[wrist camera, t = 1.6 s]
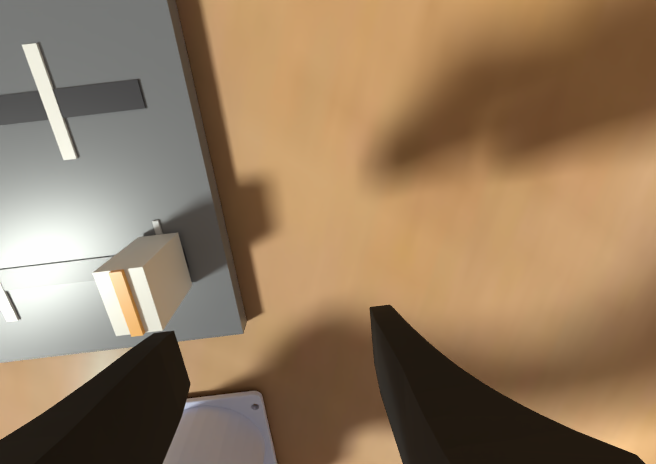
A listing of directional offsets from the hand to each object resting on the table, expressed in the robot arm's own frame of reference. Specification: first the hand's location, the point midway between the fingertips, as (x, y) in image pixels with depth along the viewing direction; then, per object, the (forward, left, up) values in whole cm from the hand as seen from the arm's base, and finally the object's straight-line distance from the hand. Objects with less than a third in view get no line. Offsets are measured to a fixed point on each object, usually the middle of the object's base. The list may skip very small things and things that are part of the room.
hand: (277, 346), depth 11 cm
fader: (0, +7, -8) cm, 10 cm away
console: (+4, +13, -9) cm, 16 cm away
